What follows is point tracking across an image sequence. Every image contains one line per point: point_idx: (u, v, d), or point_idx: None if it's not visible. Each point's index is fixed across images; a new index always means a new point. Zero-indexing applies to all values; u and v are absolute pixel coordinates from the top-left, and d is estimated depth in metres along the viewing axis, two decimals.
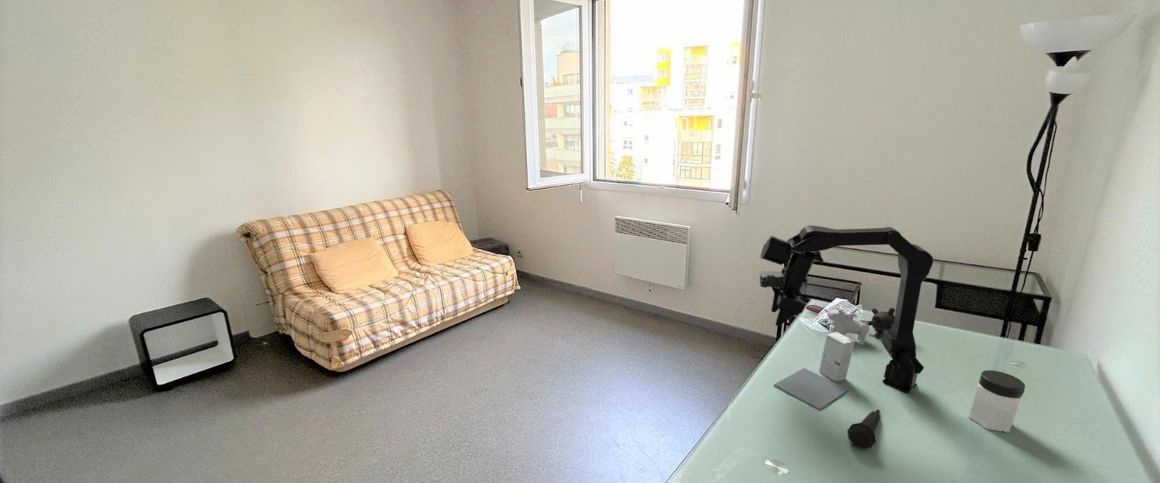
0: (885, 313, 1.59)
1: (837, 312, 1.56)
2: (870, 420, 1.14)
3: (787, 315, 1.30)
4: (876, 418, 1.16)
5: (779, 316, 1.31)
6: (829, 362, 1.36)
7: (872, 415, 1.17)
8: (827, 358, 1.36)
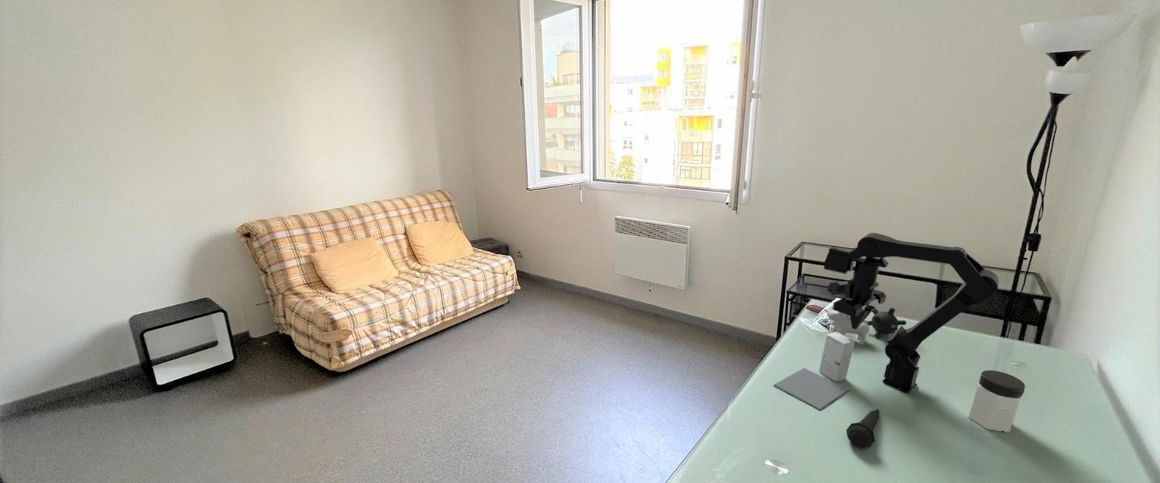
0: (885, 313, 1.59)
1: (837, 312, 1.56)
2: (869, 419, 1.14)
3: (858, 317, 1.36)
4: (875, 417, 1.16)
5: (851, 318, 1.38)
6: (829, 362, 1.36)
7: (871, 414, 1.17)
8: (827, 358, 1.36)
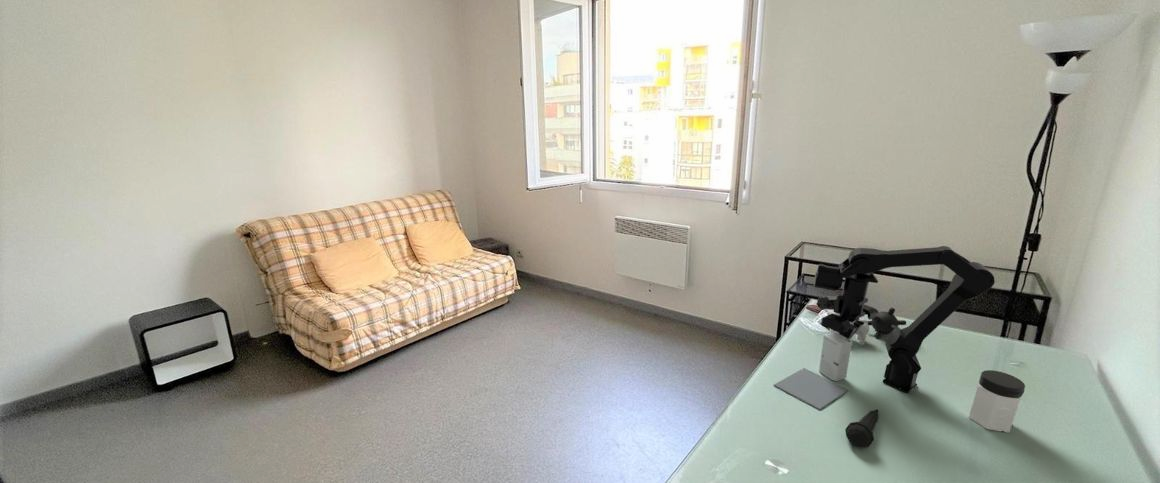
0: (885, 313, 1.59)
1: None
2: (868, 419, 1.14)
3: (846, 333, 1.35)
4: (875, 417, 1.16)
5: (840, 334, 1.36)
6: (828, 362, 1.36)
7: (871, 414, 1.17)
8: (826, 359, 1.36)
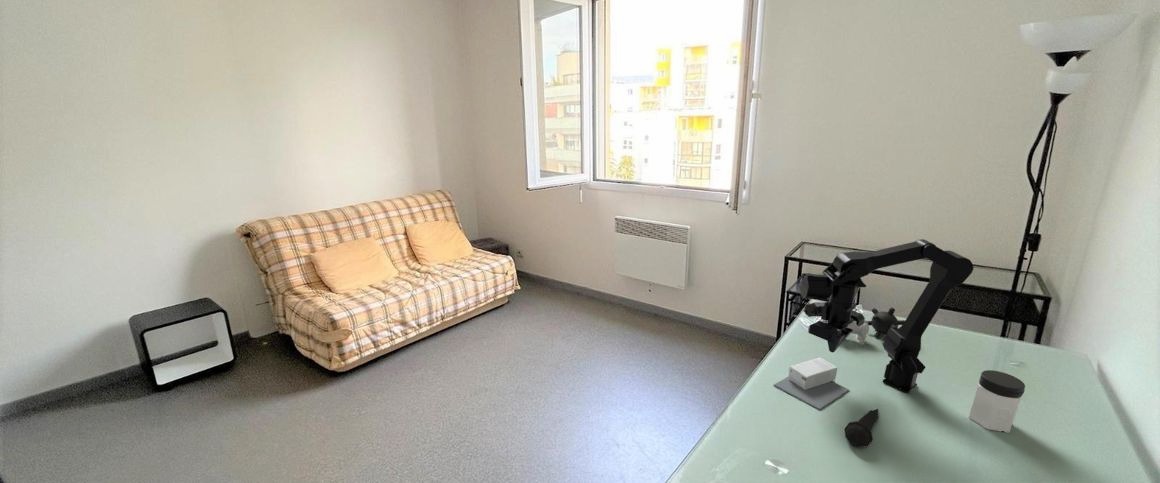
0: (885, 313, 1.59)
1: None
2: (868, 418, 1.14)
3: (835, 340, 1.31)
4: (874, 417, 1.16)
5: (828, 341, 1.32)
6: None
7: (870, 414, 1.17)
8: None
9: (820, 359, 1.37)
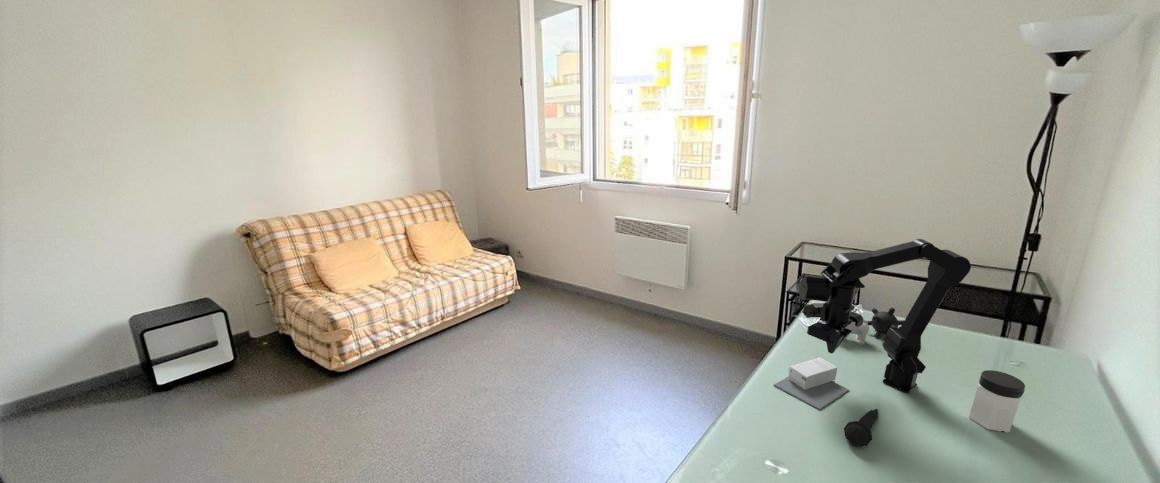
0: (885, 313, 1.59)
1: None
2: (867, 418, 1.14)
3: (833, 341, 1.30)
4: (874, 417, 1.16)
5: (827, 342, 1.32)
6: None
7: (870, 414, 1.17)
8: None
9: (820, 359, 1.37)
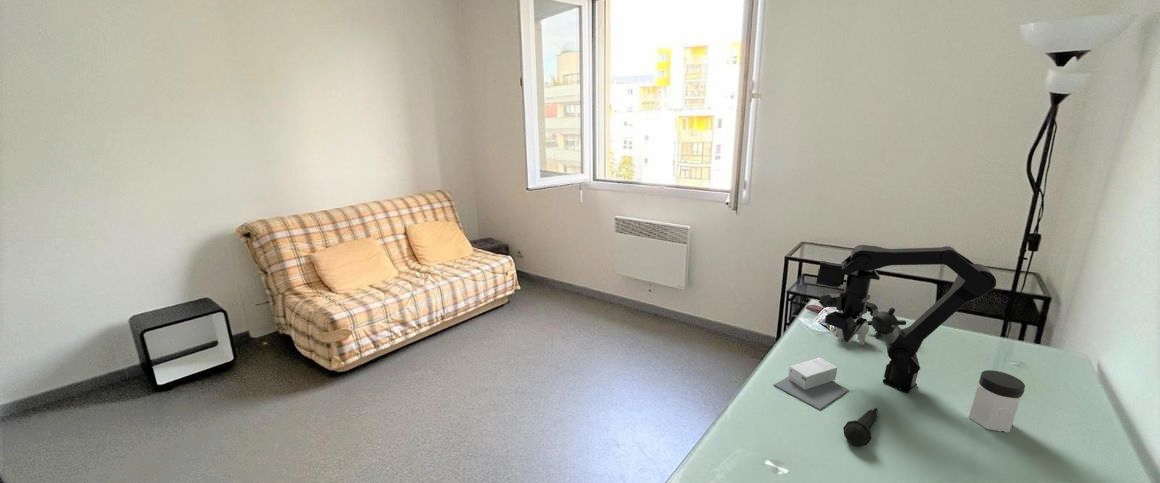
0: (885, 313, 1.59)
1: None
2: (867, 418, 1.14)
3: (850, 330, 1.35)
4: (873, 416, 1.16)
5: (843, 331, 1.36)
6: None
7: (869, 413, 1.17)
8: None
9: (820, 359, 1.37)
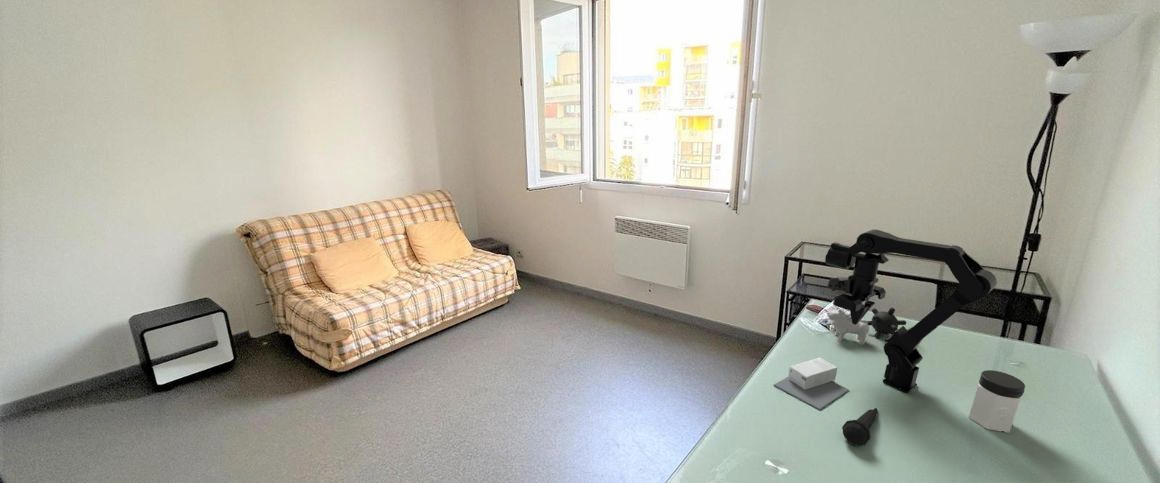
0: (885, 313, 1.59)
1: (837, 312, 1.56)
2: (866, 417, 1.15)
3: (858, 312, 1.38)
4: (872, 416, 1.17)
5: (851, 314, 1.39)
6: None
7: (869, 413, 1.17)
8: None
9: (820, 359, 1.37)
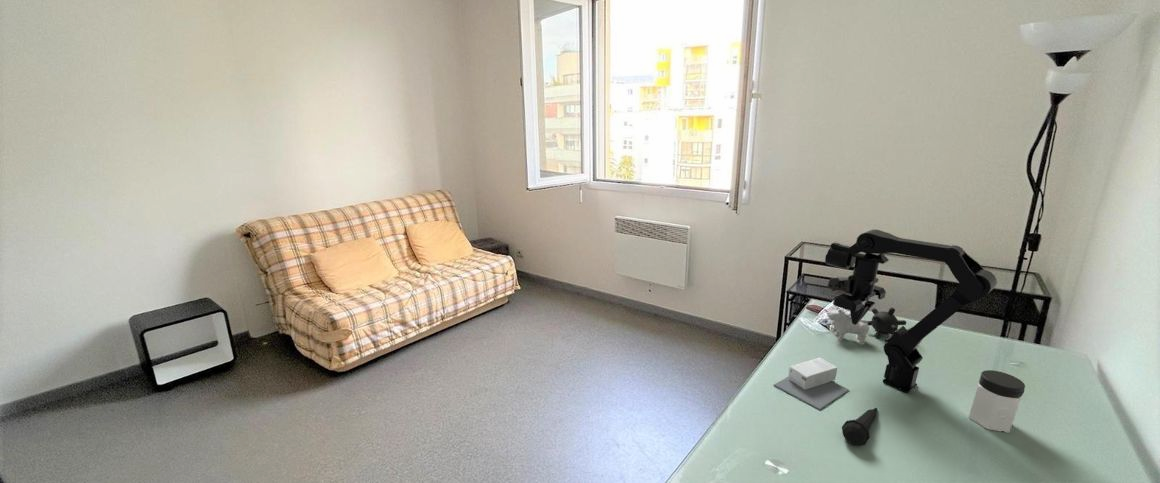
0: (885, 313, 1.59)
1: (837, 312, 1.56)
2: (866, 417, 1.15)
3: (858, 312, 1.38)
4: (872, 416, 1.17)
5: (851, 314, 1.39)
6: None
7: (868, 413, 1.17)
8: None
9: (820, 359, 1.37)
